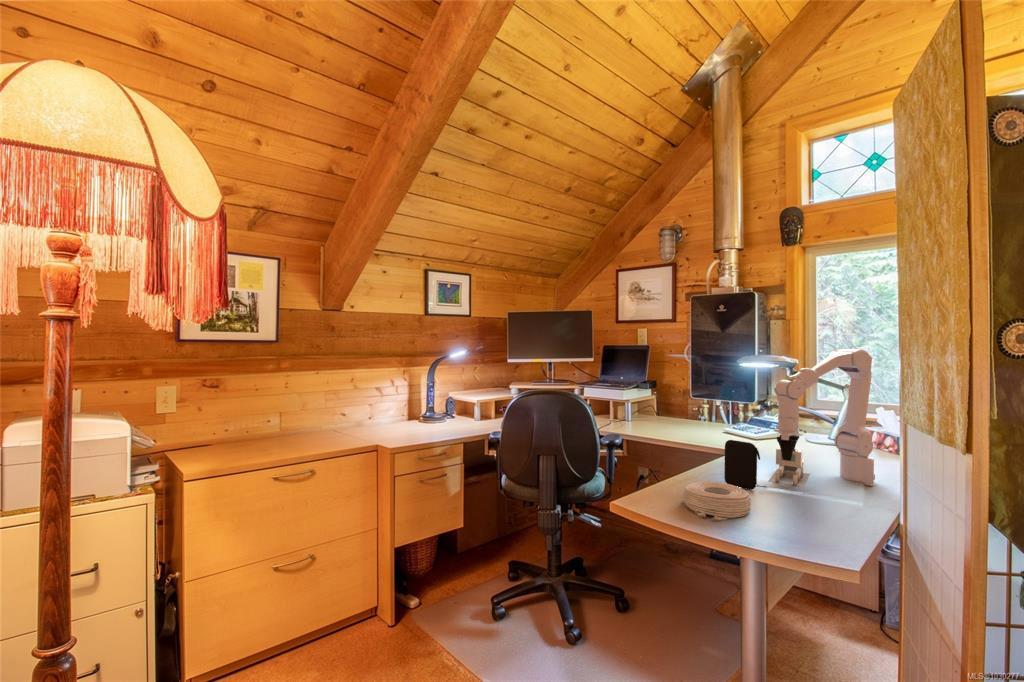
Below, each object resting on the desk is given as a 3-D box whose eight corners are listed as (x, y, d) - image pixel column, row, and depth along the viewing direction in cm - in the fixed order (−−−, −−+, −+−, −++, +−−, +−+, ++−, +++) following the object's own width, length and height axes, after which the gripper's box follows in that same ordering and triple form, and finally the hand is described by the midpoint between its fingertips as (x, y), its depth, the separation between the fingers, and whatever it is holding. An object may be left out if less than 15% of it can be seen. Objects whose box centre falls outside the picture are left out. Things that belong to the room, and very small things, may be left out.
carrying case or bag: (761, 490, 150) (761, 443, 150) (757, 493, 147) (758, 445, 147) (726, 483, 157) (727, 438, 157) (722, 485, 155) (723, 439, 155)
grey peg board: (810, 476, 166) (810, 465, 166) (803, 490, 150) (804, 477, 150) (777, 471, 172) (777, 460, 172) (768, 484, 156) (768, 472, 156)
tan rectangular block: (804, 474, 165) (804, 460, 165) (802, 477, 161) (803, 462, 161) (780, 471, 169) (781, 456, 169) (779, 473, 165) (779, 459, 165)
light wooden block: (802, 465, 156) (802, 449, 156) (800, 467, 153) (801, 452, 153) (777, 461, 160) (778, 446, 160) (775, 464, 157) (776, 448, 157)
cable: (709, 524, 123) (709, 500, 123) (669, 501, 140) (669, 480, 140) (765, 517, 128) (765, 495, 128) (720, 496, 145) (720, 476, 144)
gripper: (777, 413, 165) (777, 452, 165) (770, 418, 153) (770, 461, 154) (801, 415, 161) (801, 455, 161) (796, 420, 149) (795, 464, 149)
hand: (787, 458), depth 157 cm, fingers closed on light wooden block, 4 cm apart
